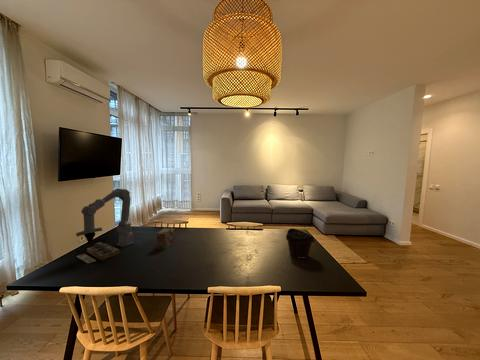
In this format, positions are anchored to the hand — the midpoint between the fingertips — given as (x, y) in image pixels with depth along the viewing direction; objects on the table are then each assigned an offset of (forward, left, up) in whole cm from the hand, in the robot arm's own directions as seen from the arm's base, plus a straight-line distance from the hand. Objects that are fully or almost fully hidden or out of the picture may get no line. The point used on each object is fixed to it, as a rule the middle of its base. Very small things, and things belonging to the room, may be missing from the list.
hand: (90, 243), depth 143 cm
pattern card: (+2, 0, -9) cm, 10 cm away
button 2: (-8, 0, -7) cm, 11 cm away
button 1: (-8, -7, -7) cm, 12 cm away
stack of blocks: (-45, +21, -10) cm, 51 cm away
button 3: (-8, +6, -7) cm, 12 cm away
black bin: (-87, +116, -10) cm, 145 cm away
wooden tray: (-8, 0, -9) cm, 12 cm away
